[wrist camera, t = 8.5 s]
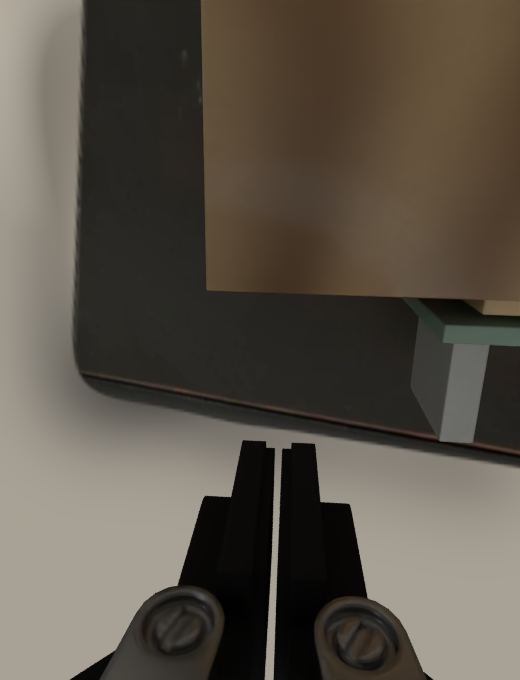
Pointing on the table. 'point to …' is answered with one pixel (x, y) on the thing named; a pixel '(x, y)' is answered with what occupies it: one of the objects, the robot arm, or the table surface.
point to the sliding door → (454, 361)
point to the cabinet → (363, 148)
